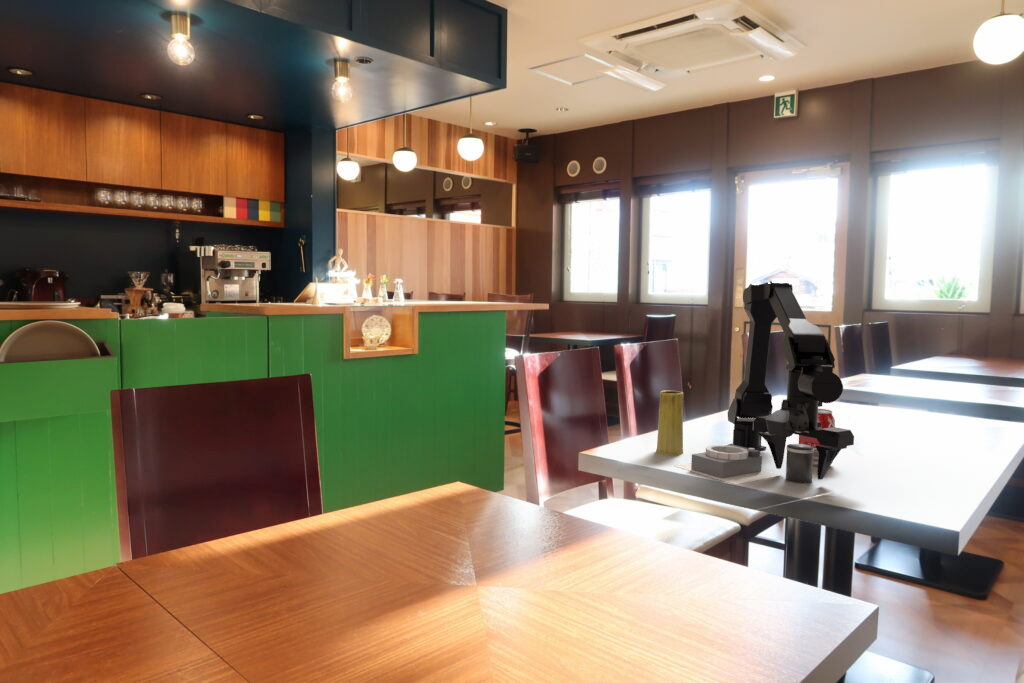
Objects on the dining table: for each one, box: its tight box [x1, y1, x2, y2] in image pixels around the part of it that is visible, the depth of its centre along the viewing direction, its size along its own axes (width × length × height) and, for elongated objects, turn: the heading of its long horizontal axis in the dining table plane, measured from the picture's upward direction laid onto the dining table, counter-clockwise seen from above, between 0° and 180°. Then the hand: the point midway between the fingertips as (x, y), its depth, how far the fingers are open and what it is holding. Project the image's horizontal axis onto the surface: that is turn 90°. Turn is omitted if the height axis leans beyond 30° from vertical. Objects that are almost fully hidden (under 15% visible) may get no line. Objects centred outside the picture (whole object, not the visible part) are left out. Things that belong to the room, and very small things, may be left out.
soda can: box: [798, 408, 836, 467], centre depth 148 cm, size 7×7×12 cm
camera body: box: [690, 443, 763, 479], centre depth 140 cm, size 12×8×5 cm
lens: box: [785, 443, 814, 484], centre depth 134 cm, size 5×5×7 cm
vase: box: [655, 390, 684, 456], centre depth 156 cm, size 6×6×14 cm
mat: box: [674, 462, 782, 485], centre depth 140 cm, size 14×16×1 cm
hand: (798, 473), depth 134 cm, fingers open, 9 cm apart
